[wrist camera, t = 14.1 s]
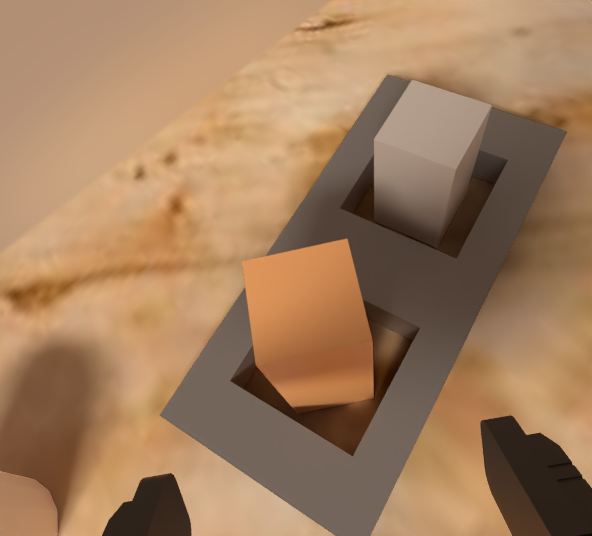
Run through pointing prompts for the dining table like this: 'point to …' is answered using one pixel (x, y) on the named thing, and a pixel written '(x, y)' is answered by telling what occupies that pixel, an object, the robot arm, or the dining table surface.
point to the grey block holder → (379, 291)
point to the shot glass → (26, 507)
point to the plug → (310, 326)
